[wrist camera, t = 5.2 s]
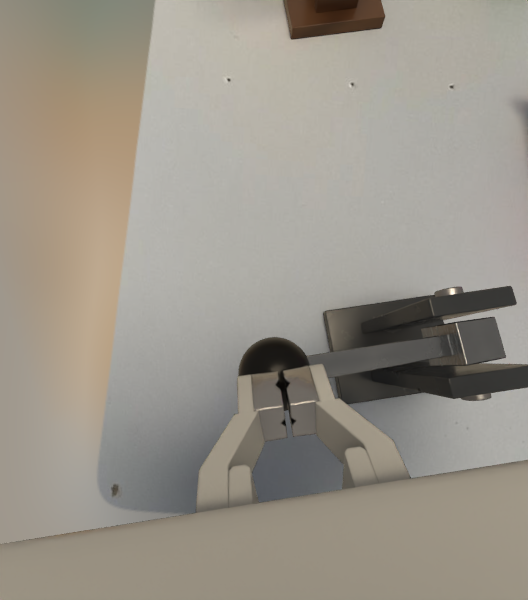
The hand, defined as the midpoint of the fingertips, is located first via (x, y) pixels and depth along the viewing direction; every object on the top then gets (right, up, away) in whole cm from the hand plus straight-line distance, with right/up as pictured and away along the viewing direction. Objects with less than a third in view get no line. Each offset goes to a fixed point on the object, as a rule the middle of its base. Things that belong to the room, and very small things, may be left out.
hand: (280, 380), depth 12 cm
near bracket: (+10, -1, +16) cm, 19 cm away
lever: (+5, 0, +5) cm, 7 cm away
